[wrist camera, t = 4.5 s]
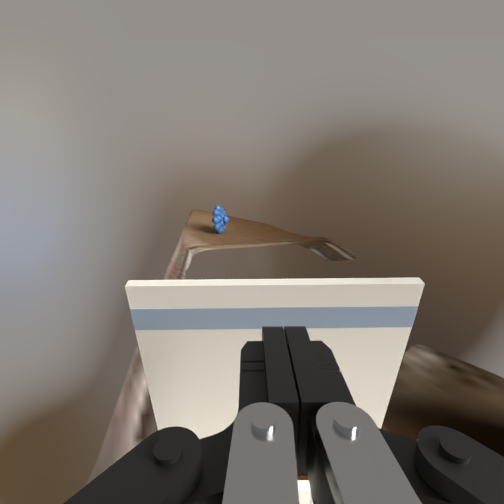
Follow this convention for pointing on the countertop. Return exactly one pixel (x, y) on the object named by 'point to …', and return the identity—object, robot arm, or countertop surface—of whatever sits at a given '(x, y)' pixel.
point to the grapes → (219, 219)
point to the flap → (250, 329)
